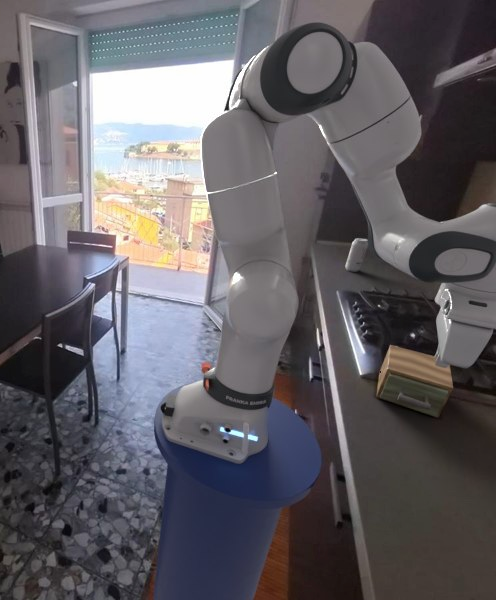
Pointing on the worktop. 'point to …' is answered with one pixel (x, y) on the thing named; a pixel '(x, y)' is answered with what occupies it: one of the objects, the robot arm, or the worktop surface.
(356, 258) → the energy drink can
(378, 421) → the worktop surface
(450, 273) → the robot arm
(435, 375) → the cabinet
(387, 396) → the drawer
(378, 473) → the worktop surface
